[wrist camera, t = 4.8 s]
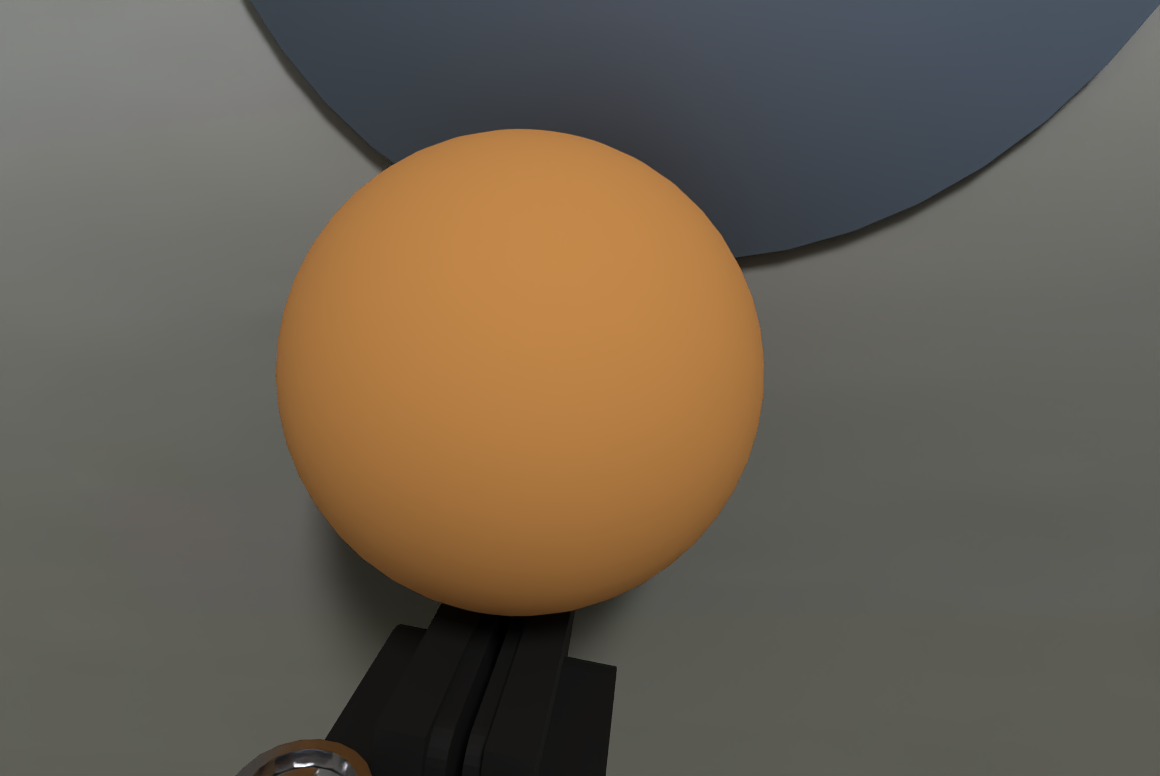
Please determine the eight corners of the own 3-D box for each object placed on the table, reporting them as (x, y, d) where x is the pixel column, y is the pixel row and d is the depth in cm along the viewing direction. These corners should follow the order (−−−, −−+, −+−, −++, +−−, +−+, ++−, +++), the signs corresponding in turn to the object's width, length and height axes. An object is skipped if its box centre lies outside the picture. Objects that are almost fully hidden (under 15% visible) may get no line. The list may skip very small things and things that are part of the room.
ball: (724, 588, 11) (759, 223, 11) (766, 741, 6) (832, 35, 6) (373, 542, 12) (412, 200, 12) (115, 637, 6) (194, 16, 7)
